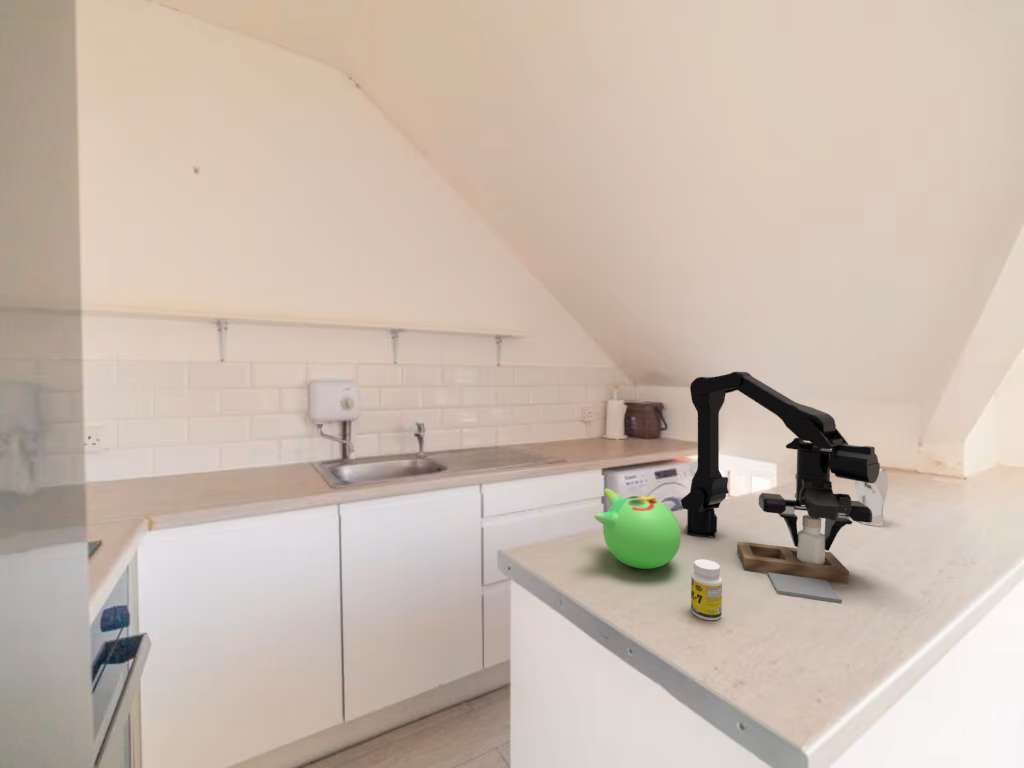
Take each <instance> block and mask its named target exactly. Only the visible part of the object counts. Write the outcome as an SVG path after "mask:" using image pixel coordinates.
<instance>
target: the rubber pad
mask: <svg viewBox="0 0 1024 768" xmlns="http://www.w3.org/2000/svg"><path fill="white" fill-rule="evenodd" d="M767 577H768V578H769V581H770V582H771V584H772V586H773V588H774V590H775V592H776V593H777V595H778V594H779V595H783V596H789V597H790V596H791V597H797V598H804V599H811V600H819V601H825V602H830V603H831V602H832V603H839V604H842V603H843V599H842V598H841V596H839V594H838V593H837V592H836V591H835V589H834V588H833V587H832V586H831V584H830V582H828V581H827V580H821V579H813V578H806V577H799V576H791V575H784V574H777V573H769V572H768V573H767Z"/></svg>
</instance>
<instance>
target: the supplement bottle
mask: <svg viewBox="0 0 1024 768" xmlns="http://www.w3.org/2000/svg"><path fill="white" fill-rule="evenodd" d="M720 575H721V566H720V564H718V562H715V561H713V560H709V559H702V558H701V559H696V560H694V562H693V572H692V574H691V582H690V583H691V584H690V585H691V589H690V610H691V612H692V614H693V615H695V616H696V617H697V618H699V619H701V620H704V621H705V620H706V621H717V620H719V619H721V617H722V612H723V611H722V610H723V608H722V607H723V579H722V578H721V576H720Z"/></svg>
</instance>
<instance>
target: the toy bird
mask: <svg viewBox="0 0 1024 768" xmlns="http://www.w3.org/2000/svg"><path fill="white" fill-rule="evenodd" d="M603 490H604V494H605V497H606V498H607V500H608V502H609V504H610V508H609V509H608V510H607V511H600V512H597V513H595V514H594V519H595V520H596V521H598V522H599V523H600V524H602V525H603V527H602V528H603V529H602V531H603V537H604V542H605V544H606V546H607V548H608V549H609V551H610V553H611V554H612V555H613V556H614V557H615V558H616V559H617V560H618V561H620V562H621V563H623V564H624V565H626V566H629V567H632V568H634V569H635V568H636V569H643V570H647V569H648V570H649V569H650V570H651V569H656V568H659V567H662V566H664V565H666V564H667V563H669V562H671V561H672V560H673V559H674V558H675V556H676V555H677V553H678V552H679V548H680V546H681V542H682V540H681V535H682V534H681V529H680V524H679V522H678V519H677V517H676V516H675V514H674V512H673V511H672V510H671V509H670V508H669V507H668V506H667V505H666V504H665V503H663V502H661V501H660V500H657V499H658V497H657V496H649V495H648V496H639V495H638V496H637V495H632V496H629V497H626V498H625V497H622V495H620V494H618V493H616V492H615V491H614V490H612V489H610V488H604V489H603Z"/></svg>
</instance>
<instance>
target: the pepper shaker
mask: <svg viewBox="0 0 1024 768" xmlns="http://www.w3.org/2000/svg"><path fill="white" fill-rule="evenodd" d="M821 529H822V518H818V519H817V518H812V517H810V516H809V515H808V514H807V515H806V514H805V515H802V529H801V530H799V531H797V534H798V547H796V548H797V560H798V561H799V562H807V563H815V564H824V563H825V552H826V549H825V535H824V534H823V533H821Z"/></svg>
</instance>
